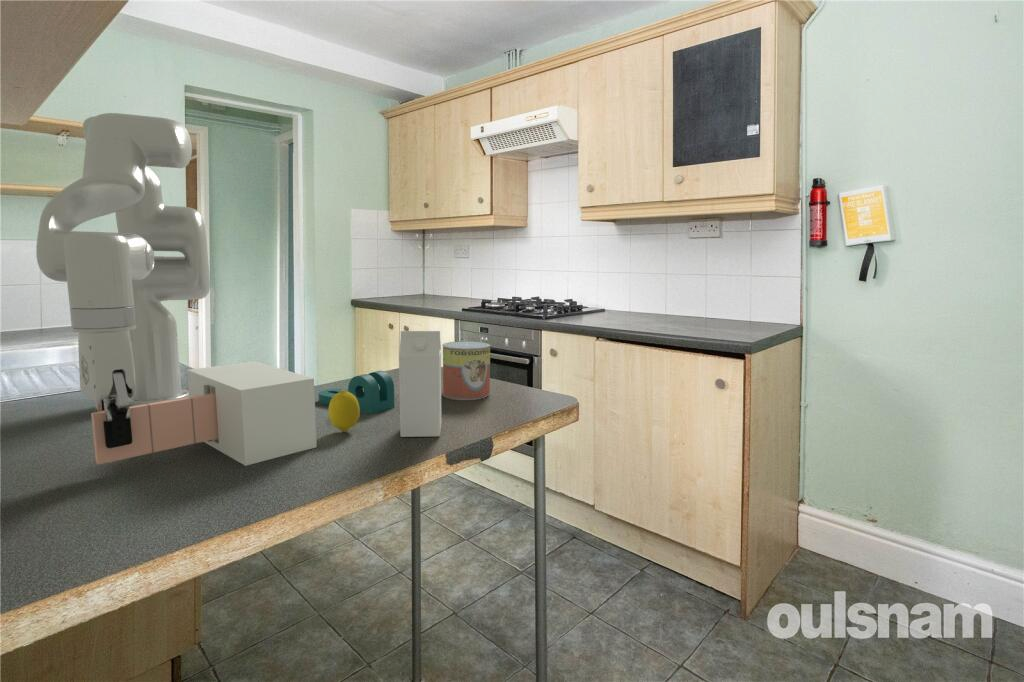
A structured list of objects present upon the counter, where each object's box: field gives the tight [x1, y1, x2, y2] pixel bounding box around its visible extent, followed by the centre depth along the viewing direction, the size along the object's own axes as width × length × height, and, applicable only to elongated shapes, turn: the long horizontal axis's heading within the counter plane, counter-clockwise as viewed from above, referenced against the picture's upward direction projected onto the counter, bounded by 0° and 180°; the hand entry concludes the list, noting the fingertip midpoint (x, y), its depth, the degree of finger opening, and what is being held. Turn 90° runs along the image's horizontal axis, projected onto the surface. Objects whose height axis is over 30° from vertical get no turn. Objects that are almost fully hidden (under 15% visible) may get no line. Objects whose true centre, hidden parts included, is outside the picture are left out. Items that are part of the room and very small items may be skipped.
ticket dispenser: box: [186, 360, 318, 467], centre depth 98 cm, size 13×22×12 cm, turn 48°
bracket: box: [318, 370, 395, 415], centre depth 124 cm, size 18×7×8 cm, turn 60°
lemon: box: [328, 390, 361, 433], centre depth 105 cm, size 6×6×8 cm
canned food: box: [441, 340, 491, 401], centre depth 134 cm, size 11×11×12 cm
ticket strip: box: [90, 393, 218, 466], centre depth 89 cm, size 18×1×8 cm, turn 138°
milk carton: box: [398, 330, 442, 438], centre depth 105 cm, size 7×7×19 cm
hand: (115, 441), depth 84 cm, fingers open, 3 cm apart
